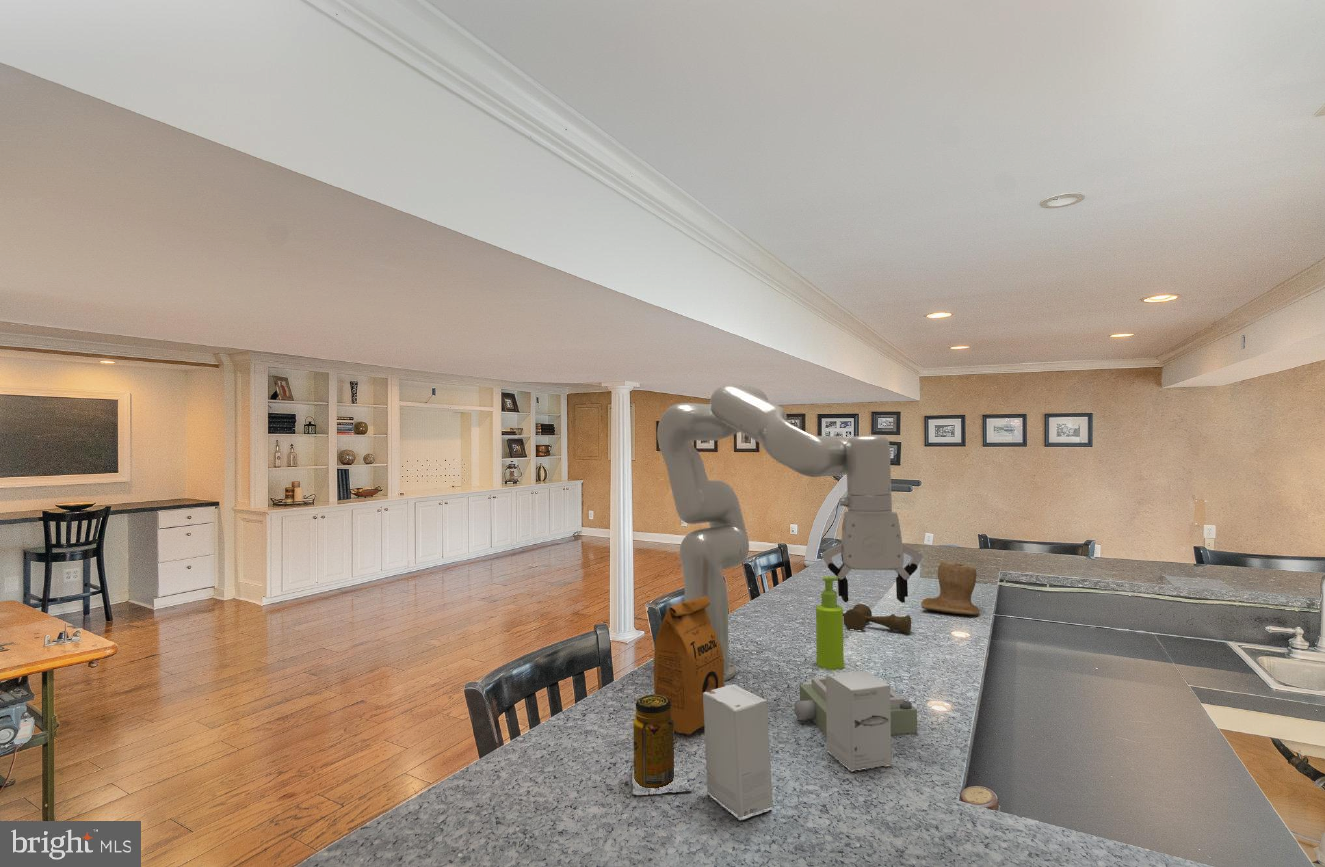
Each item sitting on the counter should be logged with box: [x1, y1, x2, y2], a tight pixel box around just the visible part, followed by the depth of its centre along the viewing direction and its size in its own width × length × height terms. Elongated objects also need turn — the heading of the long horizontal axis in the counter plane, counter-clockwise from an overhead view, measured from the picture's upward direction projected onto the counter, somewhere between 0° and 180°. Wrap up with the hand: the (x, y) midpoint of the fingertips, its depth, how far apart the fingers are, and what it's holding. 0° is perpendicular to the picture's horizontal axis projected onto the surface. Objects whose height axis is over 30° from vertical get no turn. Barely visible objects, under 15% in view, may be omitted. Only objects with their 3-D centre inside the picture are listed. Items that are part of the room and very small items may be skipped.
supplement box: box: [825, 670, 892, 770], centre depth 98 cm, size 7×7×13 cm
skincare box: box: [703, 683, 774, 817], centre depth 87 cm, size 8×6×15 cm
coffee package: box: [653, 596, 725, 735], centre depth 112 cm, size 10×12×22 cm
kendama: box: [843, 603, 912, 635], centre depth 169 cm, size 6×10×20 cm
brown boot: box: [920, 560, 980, 615], centre depth 186 cm, size 15×12×15 cm
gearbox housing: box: [794, 676, 918, 736], centre depth 113 cm, size 19×14×6 cm
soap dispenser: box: [815, 575, 845, 671], centre depth 141 cm, size 6×7×20 cm
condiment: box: [632, 694, 675, 788], centre depth 92 cm, size 7×8×12 cm
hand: (872, 600), depth 111 cm, fingers open, 9 cm apart
